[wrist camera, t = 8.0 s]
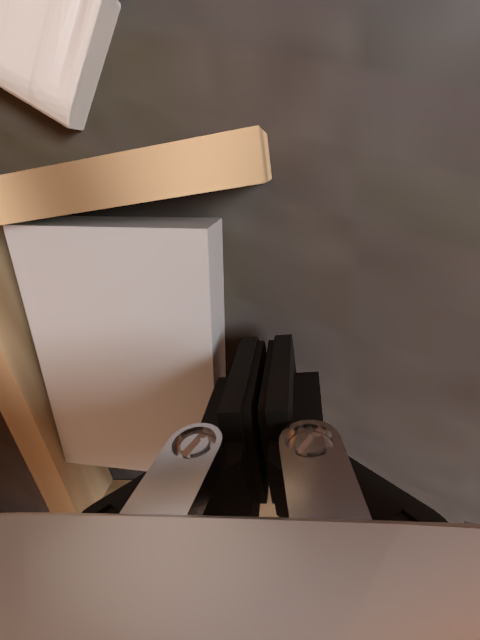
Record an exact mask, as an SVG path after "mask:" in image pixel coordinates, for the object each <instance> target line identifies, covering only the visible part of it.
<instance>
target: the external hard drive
mask: <svg viewBox="0 0 480 640" xmlns="http://www.w3.org/2000/svg"><path fill="white" fill-rule="evenodd" d="M120 9H121V4H120V2H119V0H0V87H1V88H2V89H4V90H5V91H7V92H9V93H10V94H12V95H14V96H16V97H17V98H19V99H21V100H22V101H24V102H26V103H27V104H29V105H31V106H32V107H34V108H35V109H37V110H39V111H40V112H42V113H44V114H45V115H47V116H48V117H50V118H52V119H54V120H55V121H57V122H59V123H60V124H62V125H63V126H65V127H67V128H69V129H76V130H84V127H85V124H86V120H87V117H88V114H89V110H90V107H91V104H92V100H93V97H94V94H95V91H96V87H97V84H98V81H99V77H100V74H101V71H102V68H103V64H104V61H105V58H106V55H107V51H108V48H109V45H110V42H111V38H112V35H113V32H114V28H115V25H116V22H117V18H118V15H119V12H120Z"/></svg>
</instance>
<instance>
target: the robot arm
mask: <svg viewBox="0 0 480 640" xmlns="http://www.w3.org/2000/svg"><path fill="white" fill-rule="evenodd" d="M268 488H270V494H271V500H272V504H275V509H276V515H278V516H279V517H259V511H260V504H266V503H267V499H268ZM0 640H480V524H475V523H470V522H465V521H464V524H462V523H448V522H447V521H446V519H445V518H443V517H442V516H441V515H440V514H438V513H437V512H436V511H435V510H433V509H431V508H430V507H428V506H427V505H425V504H424V503H422V502H420V501H419V500H417V499H416V498H414V497H412V496H411V495H409V494H408V493H406V492H404V491H403V490H401V489H400V488H398V487H396V486H395V485H393V484H392V483H390V482H389V481H387V480H385V479H384V478H382V477H381V476H379V475H377V474H376V473H374V472H373V471H371V470H369V469H368V468H366V467H365V466H363V465H362V464H360V463H358V462H357V461H355V460H354V459H352V458H350V457H349V456H348V455H347V452H346V449H345V447H344V444H343V441H342V439H341V436H340V434H339V433H338V431H337V430H336V429H335V428H334V427H333V426H331V425H330V424H328V423H325V422H323V415H322V405H321V395H320V384H319V374H318V372H304V373H296V366H295V357H294V348H293V339H292V334H290V335H277V336H275V338H274V340H269V342H268V348H267V353H266V347H265V342H264V341H259V339H258V337H251V338H241V340H240V343H239V346H238V349H237V352H236V355H235V358H234V361H233V364H232V367H231V370H230V373H229V376H228V377H219V378H218V379H217V381H216V384H215V386H214V389H213V392H212V394H211V397H210V400H209V402H208V405H207V408H206V410H205V413H204V415H203V418H202V421H201V423H195V424H191V425H188V426H185V427H183V428H181V429H179V430H178V431H177V432H175V433H174V434H173V435H172V436H171V437H170V438H169V440H168V441H167V442H166V444H165V445H164V447H163V448H162V450H161V451H160V453H159V454H158V456H157V457H156V459H155V460H154V462H153V463H152V465H151V466H150V468H149V469H148V471H147V472H145V473H143V474H142V475H140V476H138V477H137V478H135V479H133V480H132V481H130V482H128V483H127V484H125V485H123V486H122V487H120V488H118V489H117V490H115V491H113V492H112V493H110V494H108V495H107V496H105V497H103V498H102V499H100V500H98V501H97V502H95V503H93V504H92V505H90V506H89V507H88V508H86V509H85V510H83V511H82V512H81V513H75V512H73V513H42V512H16V513H0Z"/></svg>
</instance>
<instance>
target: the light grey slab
mask: <svg viewBox="0 0 480 640" xmlns="http://www.w3.org/2000/svg"><path fill="white" fill-rule="evenodd" d="M2 226H3V229H4V233H5V237H6V240H7V244H8V248H9V252H10V255H11V259H12V263H13V267H14V270H15V274H16V278H17V281H18V285H19V289H20V293H21V296H22V300H23V304H24V308H25V311H26V315H27V319H28V322H29V326H30V330H31V334H32V337H33V341H34V345H35V348H36V352H37V356H38V360H39V363H40V367H41V371H42V375H43V378H44V382H45V386H46V389H47V393H48V397H49V401H50V404H51V408H52V412H53V416H54V419H55V423H56V427H57V430H58V434H59V438H60V442H61V445H62V449H63V453H64V457H65V460H66V462H68V463H76V464H85V465H94V466H103V467H112V468H121V469H130V470H139V471H148V469H149V468H150V466H151V465H152V463H153V462H154V460H155V459H156V457H157V456H158V454H159V453H160V451H161V450H162V448H163V447H164V445H165V444H166V442H167V441H168V440H169V438H170V437H171V436H172V435H173V434H174V433H175V432H177V431H178V430H179V429H181V428H183V427H185V426H188V425H191V424H195V423H201V421H202V418H203V415H204V413H205V410H206V408H207V405H208V402H209V400H210V397H211V394H212V392H213V389H214V386H215V384H216V381H217V379H218V378H219V377H226V361H225V321H224V282H223V243H222V218H191V217H123V216H56V217H50V218H44V219H37V220H31V221H25V222H19V223H12V224H6V225H2Z"/></svg>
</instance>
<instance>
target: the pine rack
mask: <svg viewBox="0 0 480 640" xmlns="http://www.w3.org/2000/svg"><path fill="white" fill-rule="evenodd" d="M271 179H272V174H271V165H270V156H269V147H268V138H267V133H265V132H264V131H263V130H262V129H261V128H260V127H259V126H258V125H257V126H252V127H247V128H242V129H236V130H231V131H226V132H221V133H216V134H210V135H205V136H200V137H195V138H190V139H185V140H179V141H174V142H169V143H164V144H159V145H153V146H148V147H143V148H138V149H133V150H128V151H122V152H117V153H112V154H107V155H102V156H96V157H91V158H86V159H81V160H76V161H71V162H65V163H60V164H55V165H50V166H45V167H39V168H34V169H29V170H24V171H19V172H14V173H8V174H3V175H0V412H1V414H2V416H3V418H4V420H5V422H6V424H7V426H8V428H9V430H10V432H11V434H12V436H13V438H14V440H15V442H16V444H17V446H18V448H19V450H20V452H21V454H22V456H23V458H24V460H25V462H26V464H27V466H28V468H29V470H30V472H31V474H32V476H33V478H34V480H35V482H36V484H37V486H38V488H39V490H40V492H41V494H42V496H43V498H44V500H45V502H46V504H47V506H48V508H49V510H50V512H51V513H73V512H75V513H81V512H82V511H83V510H85V509H86V508H88V507H89V506H90V505H92V504H93V503H95V502H97V501H98V500H100V499H102V498H103V497H105V496H107V495H108V494H110V493H112V492H113V491H115V490H117V489H118V488H120V487H122V486H123V485H125V484H127V483H128V482H130V481H132V480H113V479H112V476H111V474H110V471H109V469H108V467H103V466H94V465H85V464H76V463H68V462H66V460H65V457H64V453H63V449H62V445H61V442H60V438H59V434H58V430H57V427H56V423H55V419H54V416H53V412H52V408H51V404H50V401H49V397H48V393H47V389H46V386H45V382H44V378H43V375H42V371H41V367H40V363H39V360H38V356H37V352H36V348H35V345H34V341H33V337H32V334H31V330H30V326H29V322H28V319H27V315H26V311H25V308H24V304H23V300H22V296H21V293H20V289H19V285H18V281H17V278H16V274H15V270H14V267H13V263H12V259H11V255H10V252H9V248H8V244H7V240H6V237H5V233H4V229H3V226H2V225H6V224H12V223H19V222H25V221H31V220H37V219H44V218H50V217H56V216H62V215H69V214H75V213H81V212H87V211H94V210H100V209H106V208H112V207H119V206H125V205H131V204H137V203H143V202H150V201H156V200H162V199H168V198H175V197H181V196H187V195H193V194H200V193H206V192H212V191H218V190H225V189H231V188H237V187H243V186H250V185H256V184H262V183H266V182H268V181H269V180H271ZM259 517H279V516H278V515H276V509H275V504H272V500H271V494H270V488H268V499H267V503H266V504H260V511H259Z"/></svg>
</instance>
